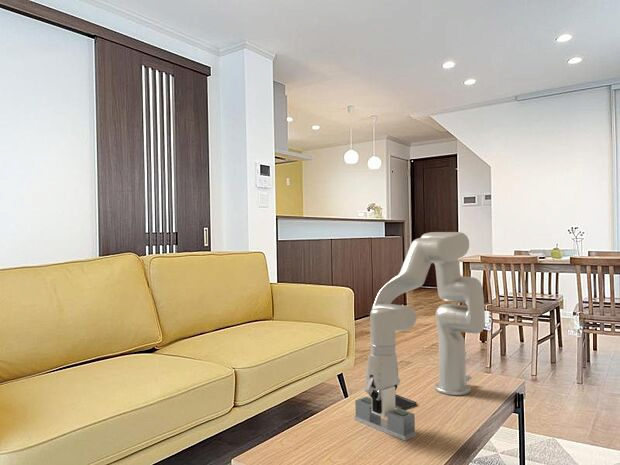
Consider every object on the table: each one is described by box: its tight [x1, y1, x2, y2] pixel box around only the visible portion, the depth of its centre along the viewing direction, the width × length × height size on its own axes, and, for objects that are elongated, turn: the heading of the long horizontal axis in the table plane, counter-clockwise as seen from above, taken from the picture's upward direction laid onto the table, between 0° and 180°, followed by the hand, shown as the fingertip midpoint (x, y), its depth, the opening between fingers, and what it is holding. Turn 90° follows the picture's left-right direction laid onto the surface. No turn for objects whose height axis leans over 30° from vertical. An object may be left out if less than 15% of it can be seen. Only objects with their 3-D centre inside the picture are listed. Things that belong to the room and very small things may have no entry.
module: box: [372, 386, 396, 418], centre depth 140 cm, size 5×5×8 cm
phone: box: [395, 393, 418, 411], centre depth 161 cm, size 8×1×15 cm
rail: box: [354, 396, 417, 442], centre depth 140 cm, size 5×20×6 cm, turn 40°
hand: (383, 409), depth 140 cm, fingers closed on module, 5 cm apart
